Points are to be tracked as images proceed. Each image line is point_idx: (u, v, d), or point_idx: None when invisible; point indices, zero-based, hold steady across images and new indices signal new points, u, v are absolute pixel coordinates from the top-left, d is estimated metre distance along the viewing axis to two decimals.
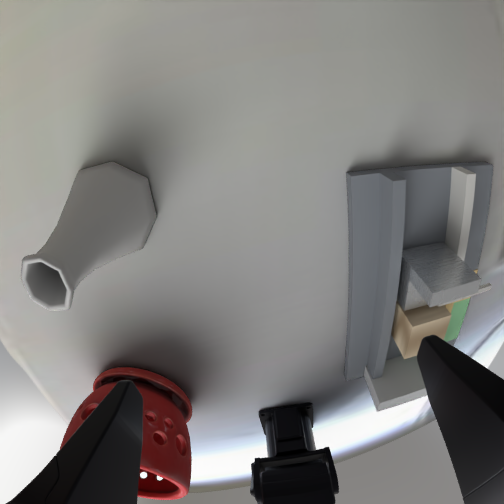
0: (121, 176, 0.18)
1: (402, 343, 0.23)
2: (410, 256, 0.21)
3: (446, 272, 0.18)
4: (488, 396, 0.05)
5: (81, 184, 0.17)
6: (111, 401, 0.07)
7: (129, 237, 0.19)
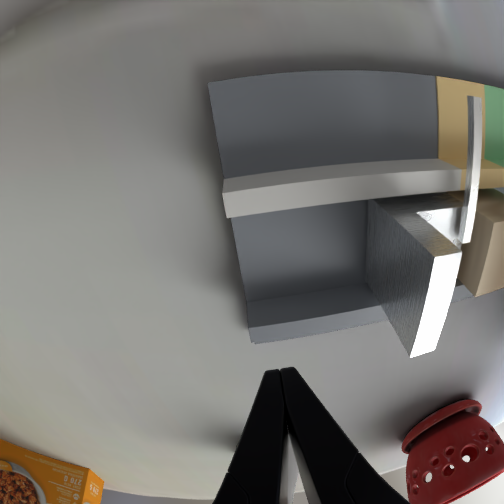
0: None
1: None
2: (373, 281, 0.14)
3: (402, 285, 0.11)
4: (314, 455, 0.05)
5: None
6: (270, 394, 0.07)
7: None
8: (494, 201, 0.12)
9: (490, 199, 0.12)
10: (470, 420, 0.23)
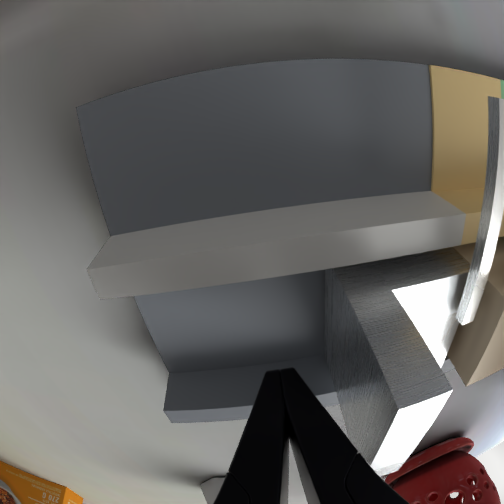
0: (208, 491, 0.21)
1: None
2: (331, 363, 0.10)
3: (357, 400, 0.07)
4: (313, 455, 0.05)
5: None
6: (271, 394, 0.07)
7: None
8: None
9: (503, 248, 0.08)
10: (459, 462, 0.19)
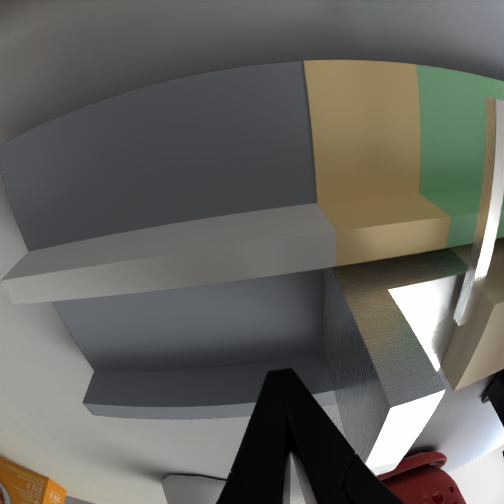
0: (167, 487, 0.21)
1: None
2: (329, 361, 0.10)
3: (353, 398, 0.07)
4: (311, 456, 0.05)
5: None
6: (273, 393, 0.07)
7: None
8: (500, 255, 0.08)
9: (494, 251, 0.08)
10: (426, 478, 0.19)
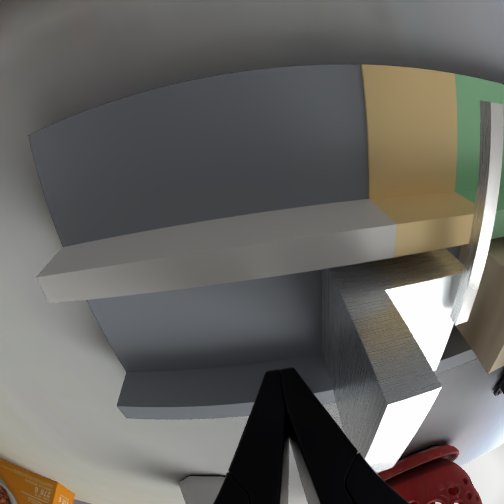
0: (185, 489, 0.21)
1: None
2: (328, 361, 0.10)
3: (351, 397, 0.07)
4: (313, 455, 0.05)
5: None
6: (271, 394, 0.07)
7: None
8: None
9: None
10: (441, 471, 0.19)
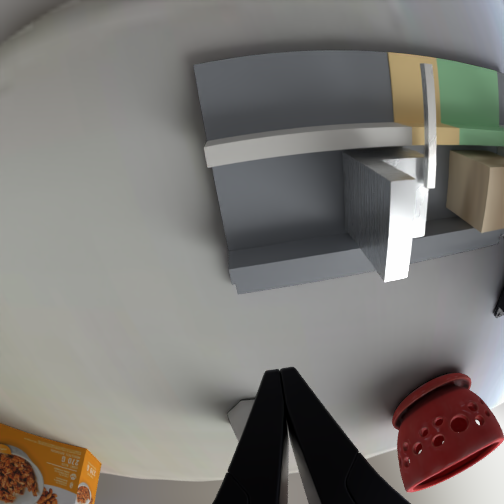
0: (236, 417, 0.27)
1: None
2: (351, 226, 0.16)
3: (372, 218, 0.13)
4: (314, 455, 0.05)
5: (236, 436, 0.27)
6: (270, 394, 0.07)
7: None
8: (489, 157, 0.14)
9: (486, 156, 0.14)
10: (459, 392, 0.26)
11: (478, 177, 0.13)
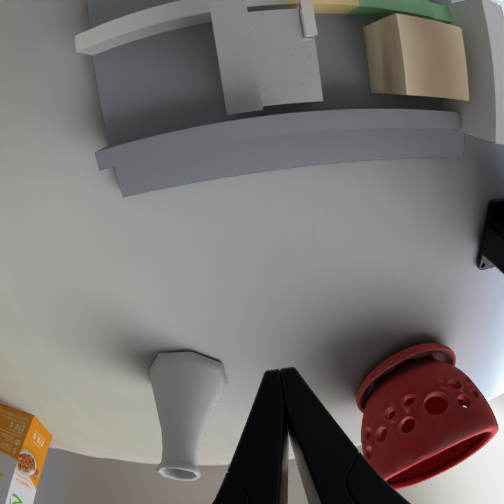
0: (154, 373, 0.24)
1: None
2: None
3: None
4: (314, 455, 0.05)
5: None
6: (270, 394, 0.07)
7: (194, 386, 0.22)
8: None
9: None
10: (437, 365, 0.22)
11: (389, 33, 0.10)
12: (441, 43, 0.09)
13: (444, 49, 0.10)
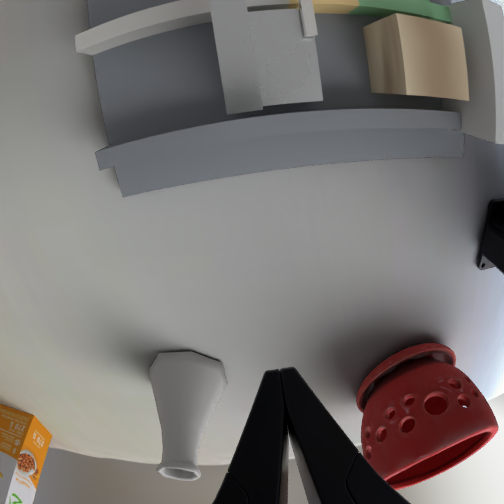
0: (154, 373, 0.24)
1: None
2: None
3: None
4: (314, 455, 0.05)
5: None
6: (270, 394, 0.07)
7: (194, 385, 0.22)
8: None
9: None
10: (437, 365, 0.22)
11: (389, 33, 0.10)
12: (441, 43, 0.09)
13: (444, 49, 0.10)
